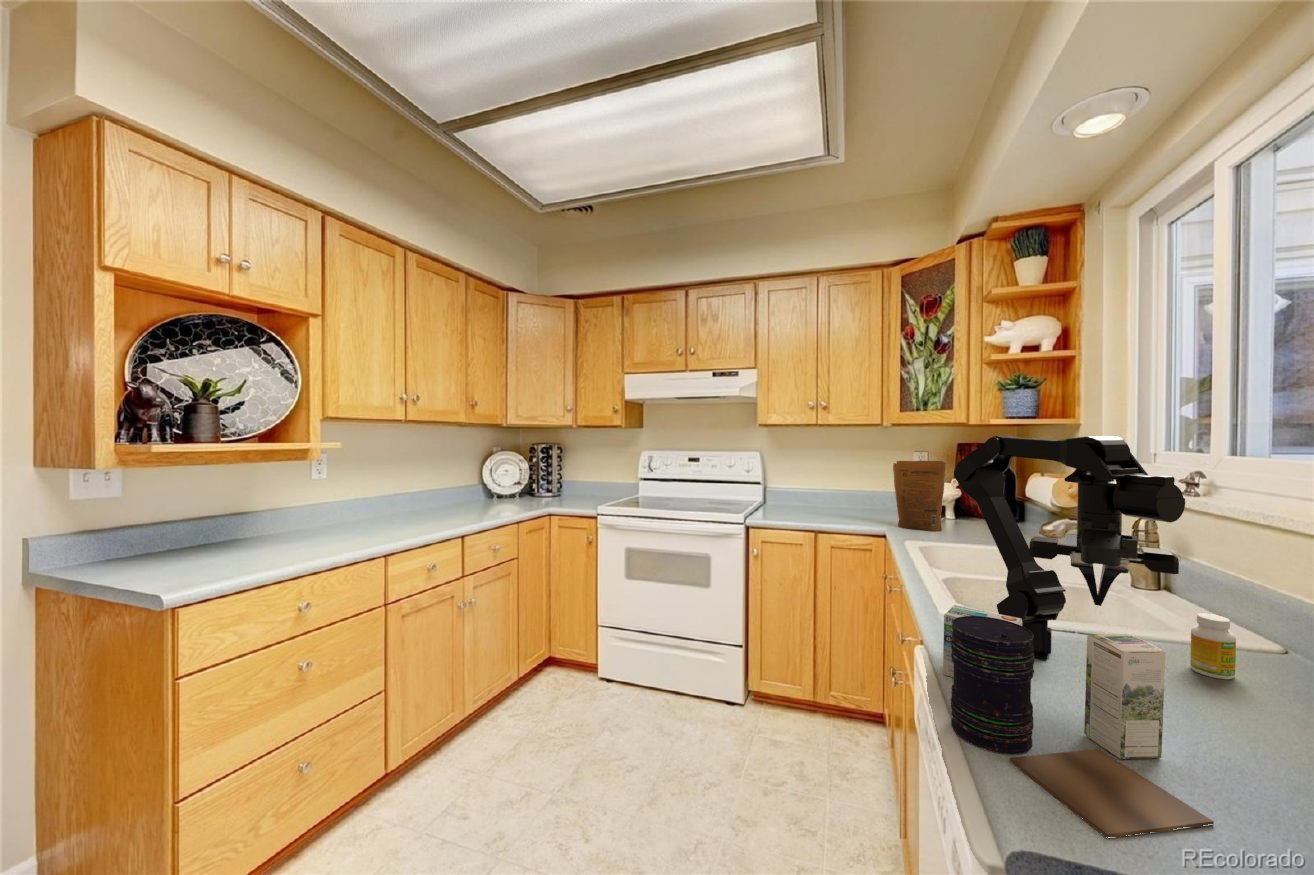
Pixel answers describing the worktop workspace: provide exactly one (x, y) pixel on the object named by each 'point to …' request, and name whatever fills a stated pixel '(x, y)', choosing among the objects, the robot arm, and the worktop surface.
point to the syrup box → (1125, 695)
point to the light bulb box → (948, 618)
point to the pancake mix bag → (919, 493)
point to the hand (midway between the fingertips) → (1097, 605)
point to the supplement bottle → (1213, 647)
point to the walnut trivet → (1108, 793)
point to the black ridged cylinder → (992, 684)
